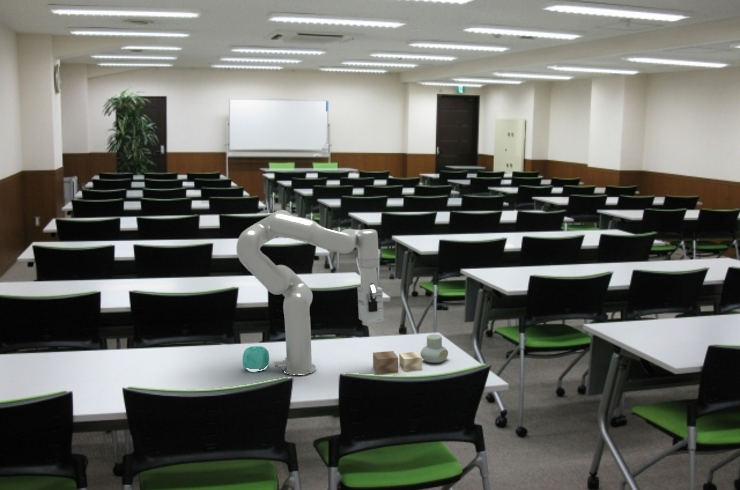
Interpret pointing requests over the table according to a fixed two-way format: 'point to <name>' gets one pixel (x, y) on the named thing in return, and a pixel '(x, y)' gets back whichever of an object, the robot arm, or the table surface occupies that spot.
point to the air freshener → (434, 350)
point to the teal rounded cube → (255, 357)
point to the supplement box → (364, 309)
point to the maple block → (410, 361)
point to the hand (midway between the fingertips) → (370, 308)
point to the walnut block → (385, 362)
